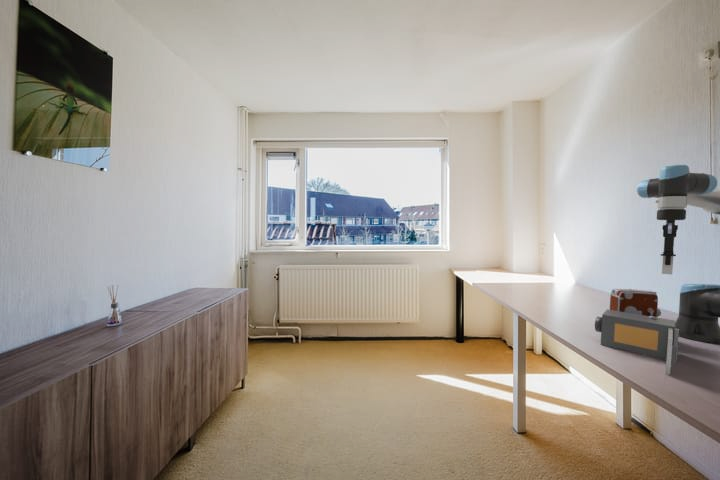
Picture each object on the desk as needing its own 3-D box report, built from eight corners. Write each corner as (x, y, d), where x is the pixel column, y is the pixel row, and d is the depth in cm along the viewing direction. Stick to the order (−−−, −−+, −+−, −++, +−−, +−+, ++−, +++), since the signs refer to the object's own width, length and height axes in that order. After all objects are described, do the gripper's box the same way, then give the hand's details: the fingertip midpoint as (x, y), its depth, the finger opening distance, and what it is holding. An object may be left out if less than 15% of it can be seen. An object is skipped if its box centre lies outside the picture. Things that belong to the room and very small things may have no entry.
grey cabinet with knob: (597, 336, 133) (599, 306, 133) (676, 353, 117) (679, 318, 116) (591, 343, 124) (593, 311, 124) (676, 362, 108) (679, 325, 107)
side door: (665, 373, 98) (668, 338, 98) (666, 359, 109) (668, 327, 109) (674, 375, 97) (677, 340, 96) (674, 360, 108) (676, 329, 107)
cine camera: (673, 342, 128) (676, 294, 127) (618, 338, 132) (621, 290, 131) (656, 335, 137) (659, 289, 136) (605, 331, 141) (608, 286, 140)
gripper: (657, 210, 121) (653, 271, 122) (656, 208, 112) (651, 274, 113) (686, 209, 116) (681, 273, 117) (686, 207, 107) (681, 276, 108)
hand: (667, 273), depth 115 cm, fingers closed
